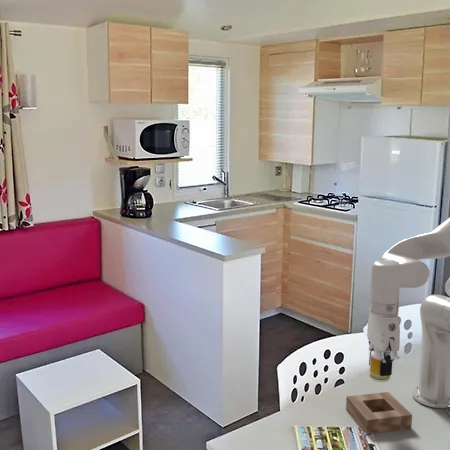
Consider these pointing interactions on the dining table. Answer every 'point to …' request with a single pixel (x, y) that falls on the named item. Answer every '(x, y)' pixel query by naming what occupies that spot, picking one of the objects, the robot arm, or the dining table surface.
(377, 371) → the supplement bottle
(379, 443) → the dining table surface
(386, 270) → the robot arm
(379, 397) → the socket block
